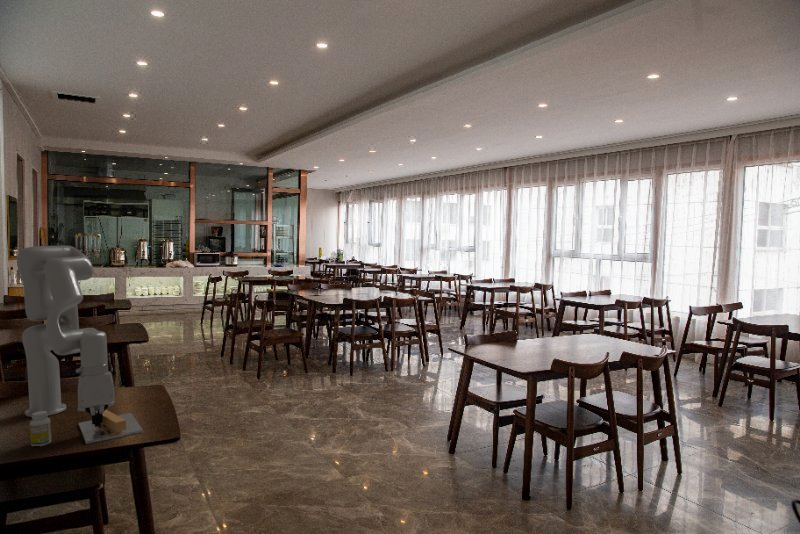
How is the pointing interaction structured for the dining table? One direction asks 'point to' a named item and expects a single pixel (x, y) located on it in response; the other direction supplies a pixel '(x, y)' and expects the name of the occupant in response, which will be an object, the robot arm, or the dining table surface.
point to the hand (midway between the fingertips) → (97, 425)
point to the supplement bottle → (40, 429)
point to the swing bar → (113, 421)
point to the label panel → (108, 429)
